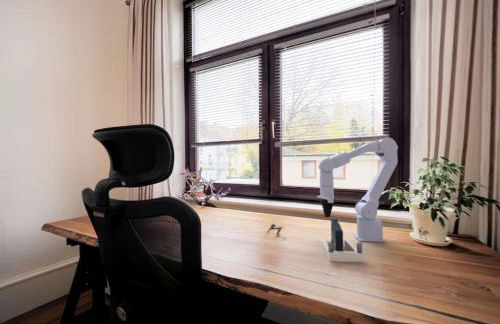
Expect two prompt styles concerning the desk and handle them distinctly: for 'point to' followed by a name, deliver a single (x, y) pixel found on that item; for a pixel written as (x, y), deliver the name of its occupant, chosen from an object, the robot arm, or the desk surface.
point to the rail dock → (343, 252)
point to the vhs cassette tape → (336, 235)
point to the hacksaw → (277, 231)
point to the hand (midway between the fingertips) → (327, 216)
